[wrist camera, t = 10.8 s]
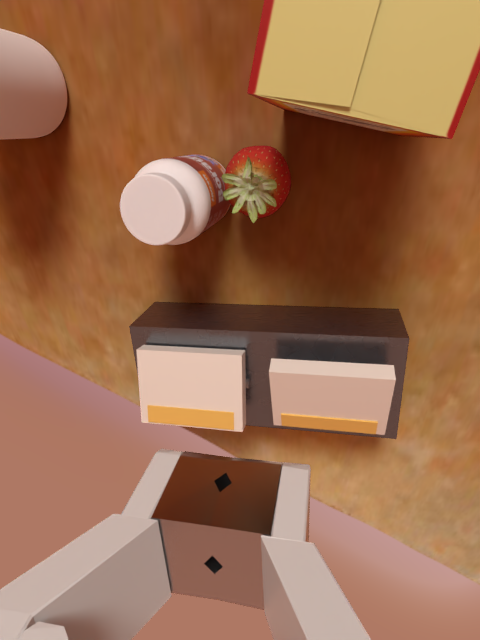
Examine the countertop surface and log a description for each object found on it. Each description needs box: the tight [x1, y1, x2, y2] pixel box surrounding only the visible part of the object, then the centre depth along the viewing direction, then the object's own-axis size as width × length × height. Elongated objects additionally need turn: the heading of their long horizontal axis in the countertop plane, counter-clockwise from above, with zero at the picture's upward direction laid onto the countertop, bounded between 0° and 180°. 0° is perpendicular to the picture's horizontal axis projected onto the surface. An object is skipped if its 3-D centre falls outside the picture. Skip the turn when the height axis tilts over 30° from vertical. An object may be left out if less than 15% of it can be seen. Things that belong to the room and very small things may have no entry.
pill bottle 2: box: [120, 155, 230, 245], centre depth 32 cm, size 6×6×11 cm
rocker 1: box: [136, 345, 246, 432], centre depth 37 cm, size 10×7×2 cm
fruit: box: [222, 146, 291, 223], centre depth 32 cm, size 5×5×8 cm
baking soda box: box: [247, 0, 480, 139], centre depth 24 cm, size 10×6×16 cm
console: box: [129, 302, 409, 439], centre depth 39 cm, size 24×10×7 cm, turn 93°
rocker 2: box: [269, 358, 396, 435], centre depth 34 cm, size 10×7×2 cm
